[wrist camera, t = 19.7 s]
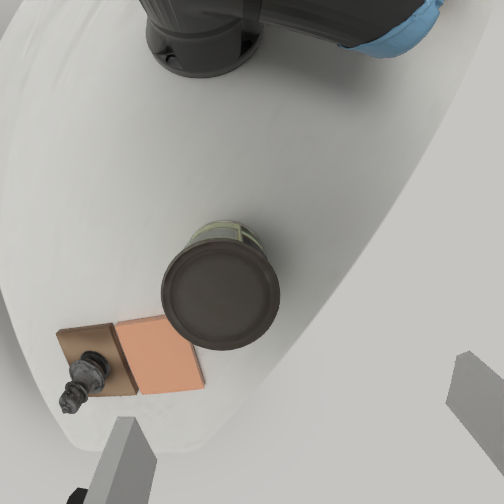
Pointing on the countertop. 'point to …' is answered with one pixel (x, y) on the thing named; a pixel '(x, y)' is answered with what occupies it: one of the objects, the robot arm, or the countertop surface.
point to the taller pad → (159, 356)
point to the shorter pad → (108, 346)
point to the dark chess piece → (84, 380)
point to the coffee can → (221, 288)
